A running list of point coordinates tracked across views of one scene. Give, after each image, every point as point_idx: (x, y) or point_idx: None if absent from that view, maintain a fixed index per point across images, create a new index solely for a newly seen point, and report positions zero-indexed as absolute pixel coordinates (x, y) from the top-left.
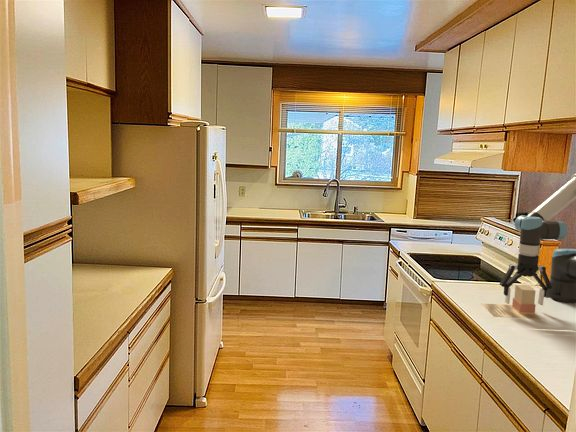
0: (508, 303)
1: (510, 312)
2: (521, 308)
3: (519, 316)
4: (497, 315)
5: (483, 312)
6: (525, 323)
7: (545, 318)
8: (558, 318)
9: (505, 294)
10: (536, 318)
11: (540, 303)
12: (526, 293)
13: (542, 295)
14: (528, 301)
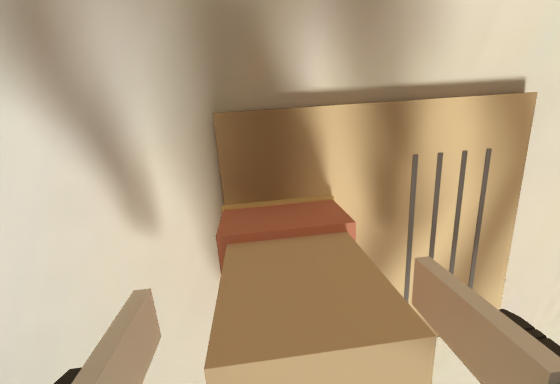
0: (423, 259)
1: (385, 205)
2: (332, 209)
3: (356, 129)
4: (502, 120)
5: (535, 196)
6: (349, 16)
7: (159, 165)
8: (57, 186)
9: (511, 317)
10: (240, 112)
11: (149, 309)
12: (342, 305)
13: (98, 370)
14: (286, 251)
